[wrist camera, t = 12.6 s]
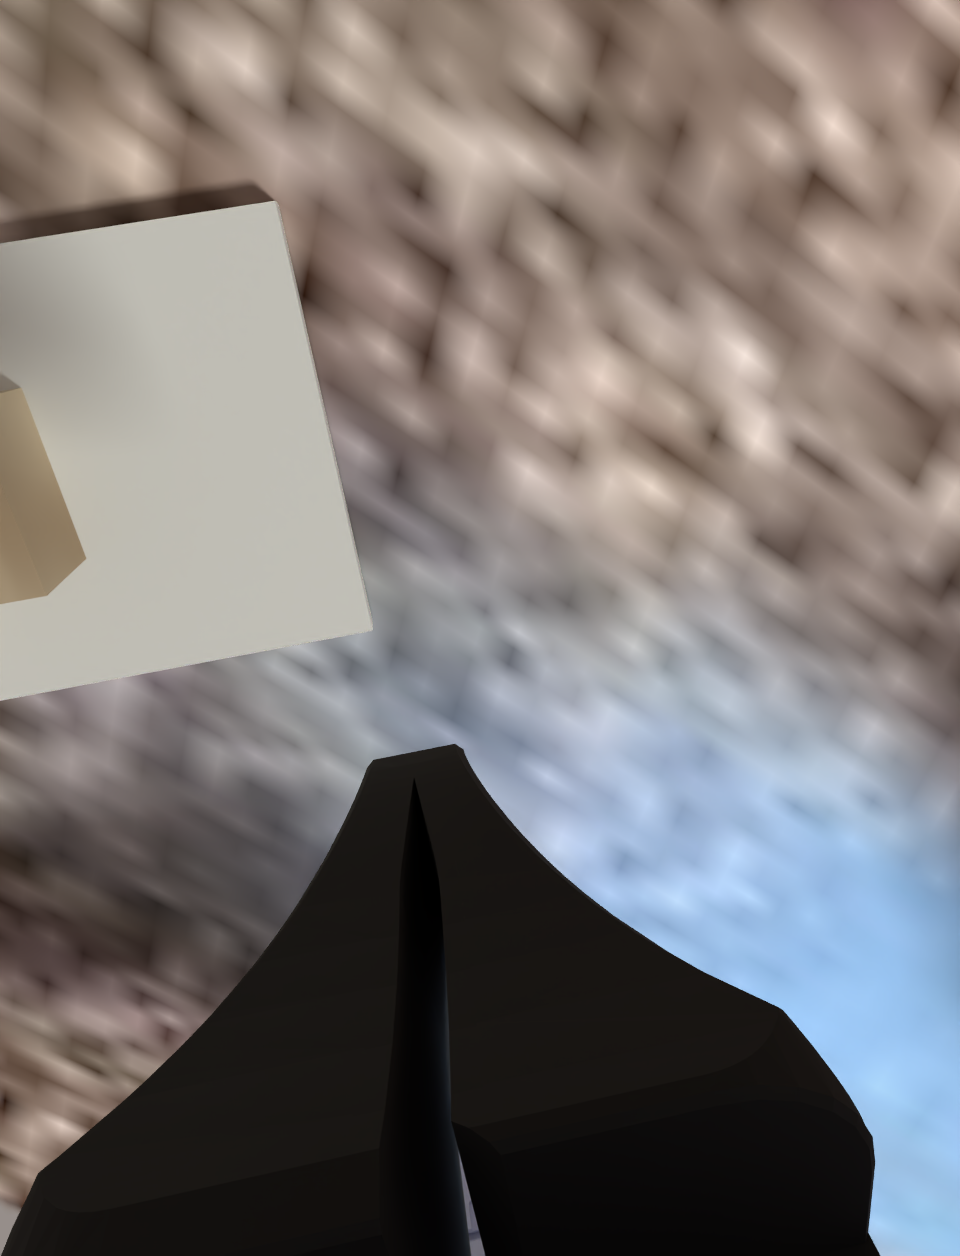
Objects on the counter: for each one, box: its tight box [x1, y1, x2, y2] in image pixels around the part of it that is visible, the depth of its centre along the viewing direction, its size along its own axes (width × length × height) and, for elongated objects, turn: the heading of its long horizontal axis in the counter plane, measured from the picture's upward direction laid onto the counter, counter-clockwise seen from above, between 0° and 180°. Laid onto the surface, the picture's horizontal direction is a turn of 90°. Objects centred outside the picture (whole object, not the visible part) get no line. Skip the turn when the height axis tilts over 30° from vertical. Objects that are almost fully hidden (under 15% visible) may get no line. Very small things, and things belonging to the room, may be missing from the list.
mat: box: [0, 201, 373, 701], centre depth 18 cm, size 10×14×1 cm
